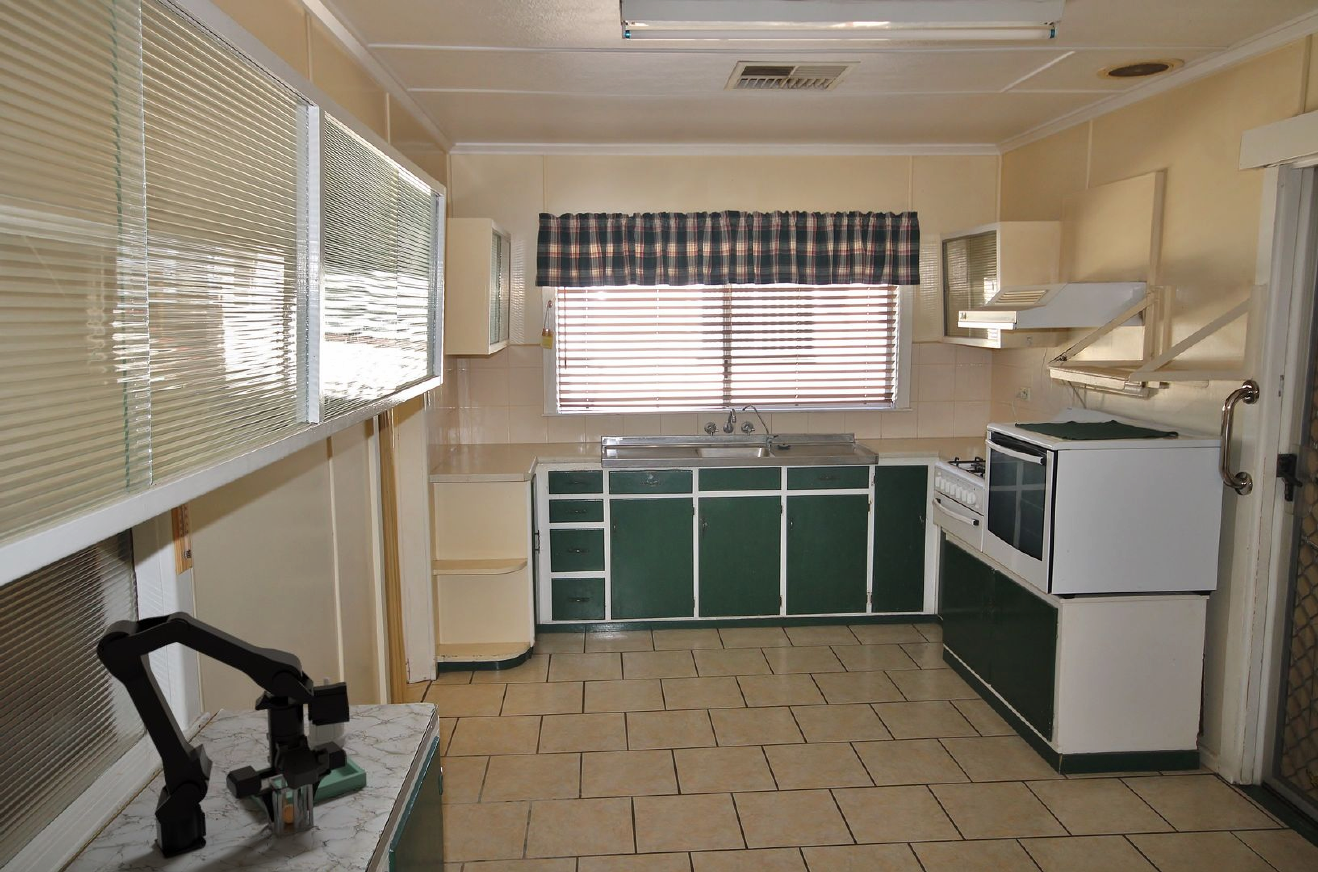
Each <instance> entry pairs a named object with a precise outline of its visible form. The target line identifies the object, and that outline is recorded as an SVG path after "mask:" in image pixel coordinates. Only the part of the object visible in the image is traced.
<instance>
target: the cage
mask: <svg viewBox="0 0 1318 872" xmlns="http://www.w3.org/2000/svg"><path fill="white" fill-rule="evenodd" d="M277 780H281V788H279V787H278V786H277V785H276V784H275V783H274V781H277ZM269 787H270V788H271V789H272V790H273V794H272V801H273V808H274V822H273V823H271V821H270V820H269V818H268V816H267V815H266V820H267V826H268V827H269V828H270V830H272V832H273V833H274V834H275V835H276V836H277V837H278V838H279V839H283V838H286V837H288V836H291V835H294V834H297V833H301V832H303V831H306V830H308V829H312V828H314V827H315V821H314V820H315V819H314V803H313V793H312V784H308V785H305V786H302V787H300V788H298V789H290V788H289V787H288V786H286V781H285V779H284V777H283V776H280V777H277V778H274V779H270V780H269ZM301 788H302V795H301ZM307 788H308V809H307ZM290 791H292V799H293V821H294V822H292V823H286V822H284V821H283V817H282V810H283V808H284V807H285V806H287V798H286V793H287V792H290ZM276 794H277V803H276ZM281 794H282V796H281ZM302 801H303V807H302ZM298 808H299V812H300V813H299V817H298Z"/></svg>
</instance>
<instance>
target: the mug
mask: <svg viewBox="0 0 1318 872" xmlns="http://www.w3.org/2000/svg"><path fill="white" fill-rule="evenodd" d="M330 681H331V680H330V677H324V678H323V685H331V682H330ZM347 734H348V732H347V730H346V729H345V722H344V723H337V724H329V725H322V726H315V725H312V721H308V735H307V740H308V745H309V748H310V750H313V748H314V746H317V745H321V744H324V743H327V742H331V741H334V742H335V743H336V744H338V745H339V746H340V747H341V748H343V747H344V746H345V745H346V739H347V736H348V735H347ZM343 745H344V746H343Z"/></svg>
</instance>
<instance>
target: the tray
mask: <svg viewBox="0 0 1318 872" xmlns="http://www.w3.org/2000/svg"><path fill="white" fill-rule="evenodd" d="M269 767H270V765H269V766H266V767H263V768H260V769H257V770H256V769H255V771H259V770H263V769H266V768H269ZM331 771H332V772H331V774H330V775H327V776H326V777H325V778H323V779H322V780H321V782H320V784H319V786H318V789H317V791H316V794H315V797H314V800H313V804H315V803H317V802H321V801H323V800H326V799H329V798H331V797H335V796H338V795H341V794H344V793H347V792H349V791H350V792H351V791H353V790H355V789H359V788H362V787H365V786H367V785H368V783H367V771H365V770H364V769H363V768H361V766H359V765H358V764H357V763H356V762H354V760H352V759H351V758H350V757H348V756H347V765H346V766H344V767H341V768H338V769H334V770H331ZM274 783H275V784H276V785H277V786H278V787H279V788H281V780H277V781H274ZM286 786H288V785H287V783H286ZM301 795H302V788H301ZM281 796H282V794H281ZM249 797H250V799H251V801H253V802H254V803H255V805H257V806H258V808H259V809H260V810H261V811H262V812H263V813H264V814H265V816H267V814H266V812H265V810H264V808H263V805H262V803H261V801H260V799H259V798H255V797H253V796H249ZM286 798H287V805H290V804H293V799H292V791H290V792H287V793H286ZM276 803H277V794H276ZM302 808H303V801H302Z"/></svg>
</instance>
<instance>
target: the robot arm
mask: <svg viewBox="0 0 1318 872" xmlns="http://www.w3.org/2000/svg"><path fill="white" fill-rule="evenodd" d="M175 643H178V644H180V645H183V646H185V647H187V648H189V649H192V650H193V651H196V652H198V653H200V654H202V655H204V656H206V657H209V658H212V659H213V660H216V661H218V662H221V663H223V664H225V665H227V666H229V667H231V668H234V669H236V670H238V671H240V672H242V673H244V674H245V675H246V676H248V678H250V679H251V680H252V681H253V682H254V683H255V684H256V685H257V686H259V687H260V688H261V689H263V690H264V691H263V692H262V694H261V695H260V696H259V697H258V698H256V700H255V704H254V705H255V706H254V711H264V710H266V711H267V729H268V731H267V732H266V740H267V741H268V752H269V753H268V754H269V755H267V756H266V758H267V762H268V764H269V766H270V767H269V766H268V767H269V768H266V767H265V768H266V769H263V768H262V769H263V770H259V769H258V770H259V771H256V769H254V767H253V766H252V765H246V766H243V767H239V768H236V769H234V770H230V771H229V772H228V774H227V776H226V777H225V781H226V782H225V785H226V789H228V790H229V792H230V793H231V794H232V795H233V796H234V798H235V799H236V800H237V799H239V800H242V799H246V798H249V797H250V796H253V797H255V798H259V799H260V801H261V803H262V805H263V808H264V810H265V812H266V814H267V815H266V814H265V815H266V817H267V816H268V818H269V820H270V821H271V823H273V822H274V808H273V801H272V794H273V790H272V789H271V788H270V787H269V780H270V779H274V778H277V777H280V776H283V777H284V779H285V781H286V783H287V785H288V787H289V788H290V789H298V788H300V787H302V786H305V785H308V784H312V793H313V800H314V797H315V794H316V791H317V789H318V786H319V784H320V782H321V780H322V779H323V778H325V777H326V776H327V775H330V774H331V772H332V771H331V770H334V769H338V768H341V767H344V766H346V765H347V757H348V754H347V751H346V750H345V749H344V748H343V747H340V746H339V745H338V744H336V743H335V742H334V741H331V742H327V743H324V744H321V745H317V746H314V748H313V750H311V749H310V748H309V744H308V740H307V737H308V735H306V734H305V716H304V715H305V713H304V711H305V710H304V709H305V708H304V705H307V719H308V720H307V721H308V722H309V721H312V725H315V726H322V725H329V724H337V723H344V724H345V723H349V722H350V721H351V720H350V704H349V703H350V702H349V695H348V686H347V682H346V681H341V682H335V683H333V684H331V683H330V685H324V684H323V685H317V686H315V682H314V681H313V680H312V678H311V677H310V676H309V675H308V674H307V673H306V672H305V671H304V670H303V668H302V662H301V660H300V658H299V657H298V656H297V655H295V654H294V653H291V652H287V651H284V650H280V649H276V648H270V647H260V646H258V645H253V644H251V643H249V642H247V641H246V640H243V639H241V638H239V637H237V636H234V635H232V634H230V633H227V632H225V631H224V630H221V629H220V628H217V627H216V626H215V627H214V626H213V625H211V624H208V623H205V622H204V621H202V620H199V619H197V618H195V617H193V616H192V615H190V614H189V613H188V612H186V611H175V612H172V613H169V614H165V615H158V616H151V617H145V618H142V619H137V620H135V621H133V620H129V619H122V620H117V621H114V622H113V623H112V624H111V623H110V625H109V626H108V627H107V628H106V629H105V630H104V632H103V635H102V636H101V638H100V639H99V642H98V644H97V646H96V656H97V659H98V660H99V661H100V663H101V664H102V665H103V666H104V668H105V669H106V670H107V671H108V673H109V674H110V675H111V676H112V677H114V679H116V680H117V681H118V682H119V683H121V684H122V685H123V686H124V687H125V689H126V691H127V693H128V695H129V697H130V699H131V701H132V703H133V705H134V707H135V709H136V712H137V713H138V715H139V718H140V719H141V721H142V723H143V725H144V727H145V729H146V731H147V733H148V736H149V737H150V739H151V741H152V744H153V745H154V747H155V749H156V751H157V753H158V755H159V757H160V760H161V764H162V771H163V776H164V777H163V778H164V783H165V785H164V786H162V787H161V790H160V793H159V797H158V800H157V804H156V808H155V811H154V816H155V825H156V826H155V827H156V828H155V829H156V838H154V845H155V846H156V847H157V849H158V851H159V853H160V854H161V855H162V857H163V858H164V859H167V858H171V857H173V856H177V855H180V854H183V853H185V852H188V851H191V850H192V851H193V850H194V849H197V848H201V847H203V846H206V845H207V840H206V838H205V837H206V836H207V826H206V825H207V823H206V812H204V810H203V809H202V805H201V803H202V801H203V800H204V799H205V798H206V796H207V794H208V791H209V785H210V779H211V774H212V773H211V772H212V768H213V764H214V763H213V760H212V759H210V758H209V757H208V755H207V753H206V749H205V745H204V744H203V743H200V744H199V745H197V746H196V747H194V746H193V745H192V744H191V743H189V742H188V741H187V739H186V737H185V736H184V733H183V731H182V729H181V727H180V725H179V723H178V721H177V719H176V717H175V714H174V713H173V711H172V709H171V707H170V705H169V703H168V701H167V699H166V697H165V695H164V692H163V691H162V688H161V686H160V685H159V682H158V680H157V679H156V676H155V674H154V673H153V670H152V667H151V662H150V660H151V659H150V653H152V652H155V651H157V650H159V649H162V648H164V647H167V646H169V645H172V644H173V645H174V644H175ZM307 809H308V788H307Z"/></svg>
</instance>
